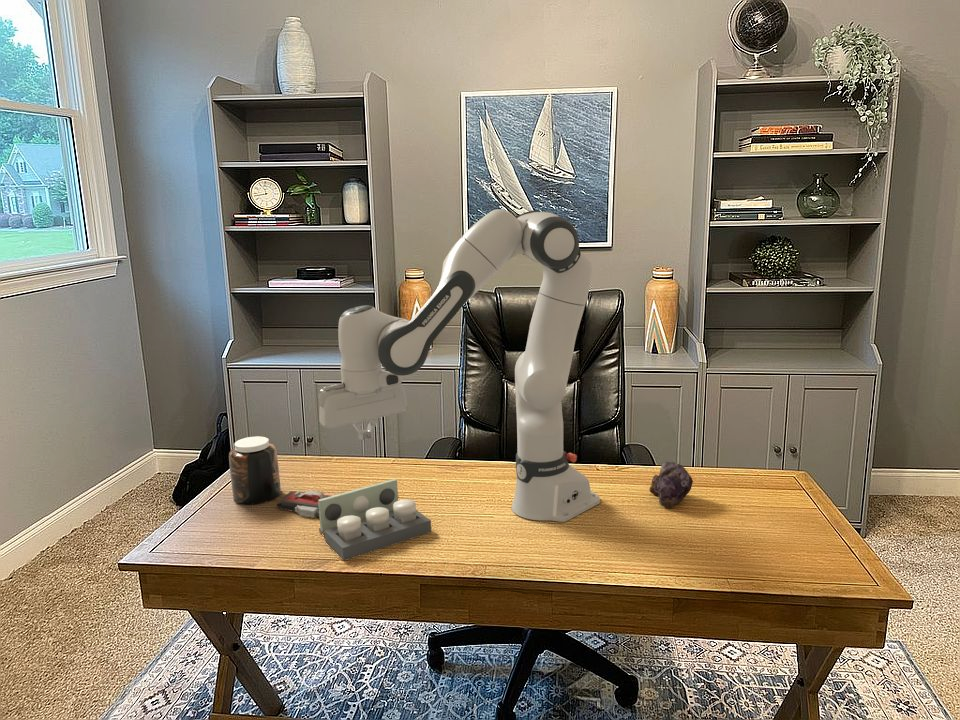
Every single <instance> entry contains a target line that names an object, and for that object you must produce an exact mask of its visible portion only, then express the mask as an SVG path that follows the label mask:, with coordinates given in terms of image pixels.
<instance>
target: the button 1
mask: <svg viewBox="0 0 960 720" xmlns="http://www.w3.org/2000/svg"><path fill="white" fill-rule="evenodd" d="M337 527H338V532H339V537H340V538H341V539H342V540H343V541H344V542H345V541H348V540H351V539H354V538H358V537H361V519H360V517H358V516H353V515H350V516H344V517H341V518H340V519H338V520H337Z"/></svg>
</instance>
